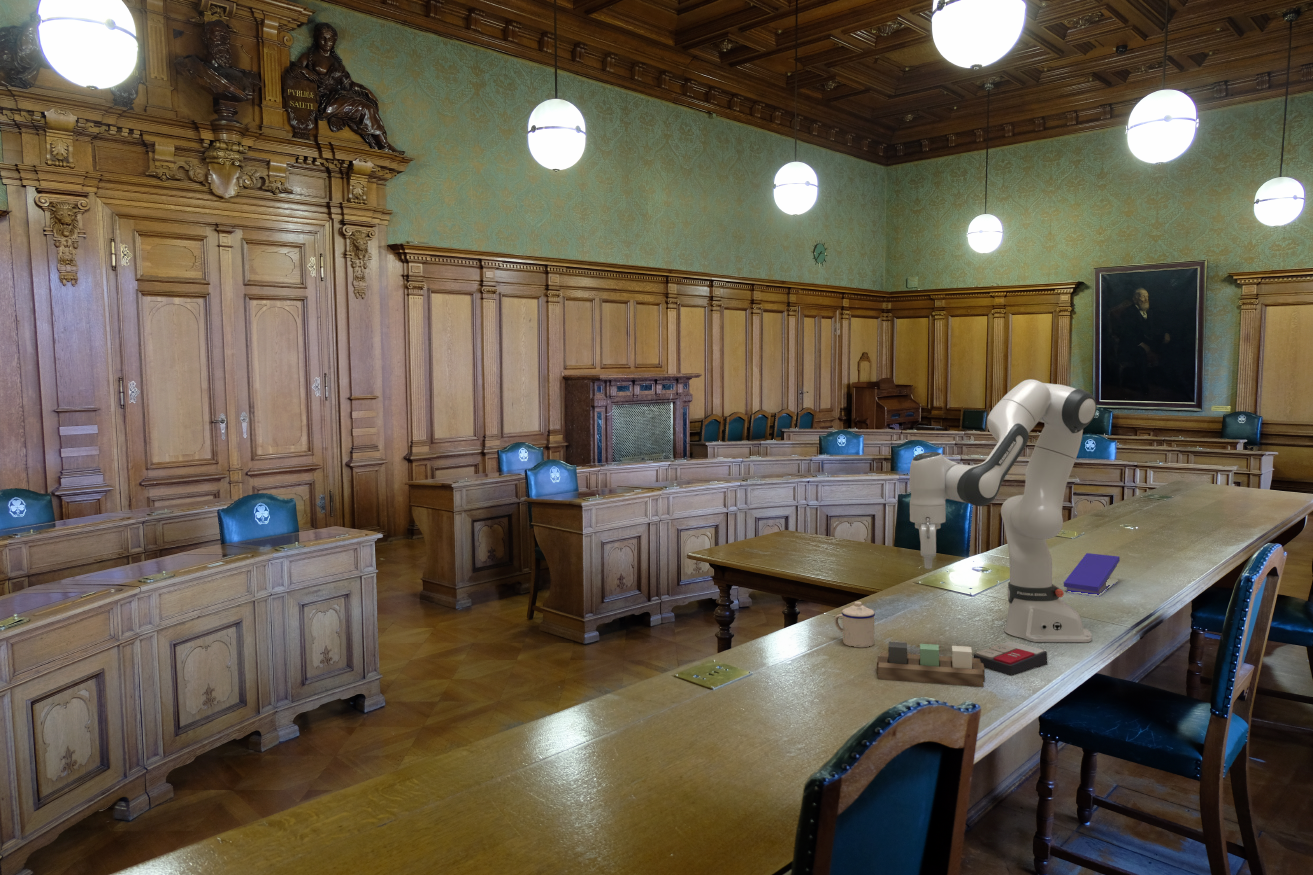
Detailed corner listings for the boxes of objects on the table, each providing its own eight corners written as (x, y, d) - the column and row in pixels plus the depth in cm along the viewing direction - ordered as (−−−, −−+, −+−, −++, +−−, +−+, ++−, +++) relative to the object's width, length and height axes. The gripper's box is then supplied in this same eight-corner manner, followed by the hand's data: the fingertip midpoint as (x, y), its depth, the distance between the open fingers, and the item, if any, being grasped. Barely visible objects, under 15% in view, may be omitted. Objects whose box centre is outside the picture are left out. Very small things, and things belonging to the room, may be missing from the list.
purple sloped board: (1120, 582, 294) (1120, 555, 293) (1100, 598, 273) (1100, 569, 272) (1085, 578, 301) (1085, 551, 301) (1063, 593, 280) (1063, 564, 280)
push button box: (972, 651, 210) (1009, 638, 217) (973, 667, 210) (1009, 654, 218) (1010, 662, 200) (1047, 648, 208) (1011, 679, 201) (1048, 664, 208)
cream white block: (971, 666, 202) (970, 646, 202) (972, 672, 198) (971, 652, 198) (952, 665, 203) (951, 645, 203) (952, 671, 199) (952, 650, 199)
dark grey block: (907, 662, 207) (907, 642, 206) (907, 667, 202) (906, 647, 202) (889, 660, 208) (889, 641, 208) (888, 666, 204) (888, 646, 203)
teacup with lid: (881, 642, 230) (880, 601, 230) (865, 650, 224) (864, 607, 223) (843, 634, 238) (842, 595, 238) (826, 642, 232) (826, 601, 231)
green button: (938, 664, 204) (938, 644, 204) (939, 670, 200) (939, 649, 200) (920, 663, 206) (920, 643, 205) (920, 668, 201) (920, 648, 201)
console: (982, 670, 205) (982, 658, 205) (985, 686, 193) (985, 674, 193) (878, 663, 212) (878, 651, 212) (876, 678, 201) (876, 666, 201)
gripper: (941, 521, 203) (942, 576, 203) (939, 509, 222) (940, 560, 223) (914, 520, 205) (915, 575, 205) (915, 509, 224) (915, 559, 225)
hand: (928, 567), depth 214 cm, fingers closed
